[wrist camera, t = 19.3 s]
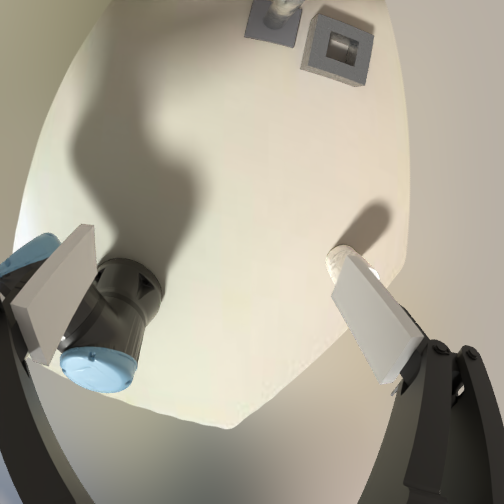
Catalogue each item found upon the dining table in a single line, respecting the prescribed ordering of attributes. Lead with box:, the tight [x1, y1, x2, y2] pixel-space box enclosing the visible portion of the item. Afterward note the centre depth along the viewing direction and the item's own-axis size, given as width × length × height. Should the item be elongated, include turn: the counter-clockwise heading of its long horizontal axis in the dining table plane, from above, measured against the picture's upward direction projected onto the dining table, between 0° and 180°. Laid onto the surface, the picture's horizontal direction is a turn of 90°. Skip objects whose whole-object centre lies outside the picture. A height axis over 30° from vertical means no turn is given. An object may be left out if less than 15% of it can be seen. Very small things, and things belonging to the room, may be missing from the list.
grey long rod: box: [263, 0, 305, 30], centre depth 26 cm, size 3×3×17 cm
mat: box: [244, 0, 302, 48], centre depth 34 cm, size 8×8×1 cm
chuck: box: [300, 14, 374, 87], centre depth 36 cm, size 10×10×4 cm
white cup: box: [325, 245, 380, 285], centre depth 52 cm, size 8×8×10 cm
